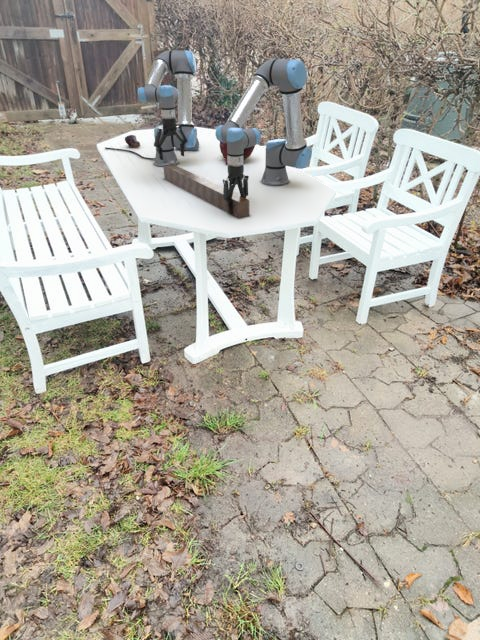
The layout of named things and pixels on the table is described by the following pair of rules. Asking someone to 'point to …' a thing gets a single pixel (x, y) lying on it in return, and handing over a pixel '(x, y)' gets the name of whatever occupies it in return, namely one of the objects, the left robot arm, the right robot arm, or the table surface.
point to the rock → (132, 141)
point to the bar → (205, 190)
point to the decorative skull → (223, 149)
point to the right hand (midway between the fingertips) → (236, 212)
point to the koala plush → (191, 147)
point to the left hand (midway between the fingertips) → (172, 157)
